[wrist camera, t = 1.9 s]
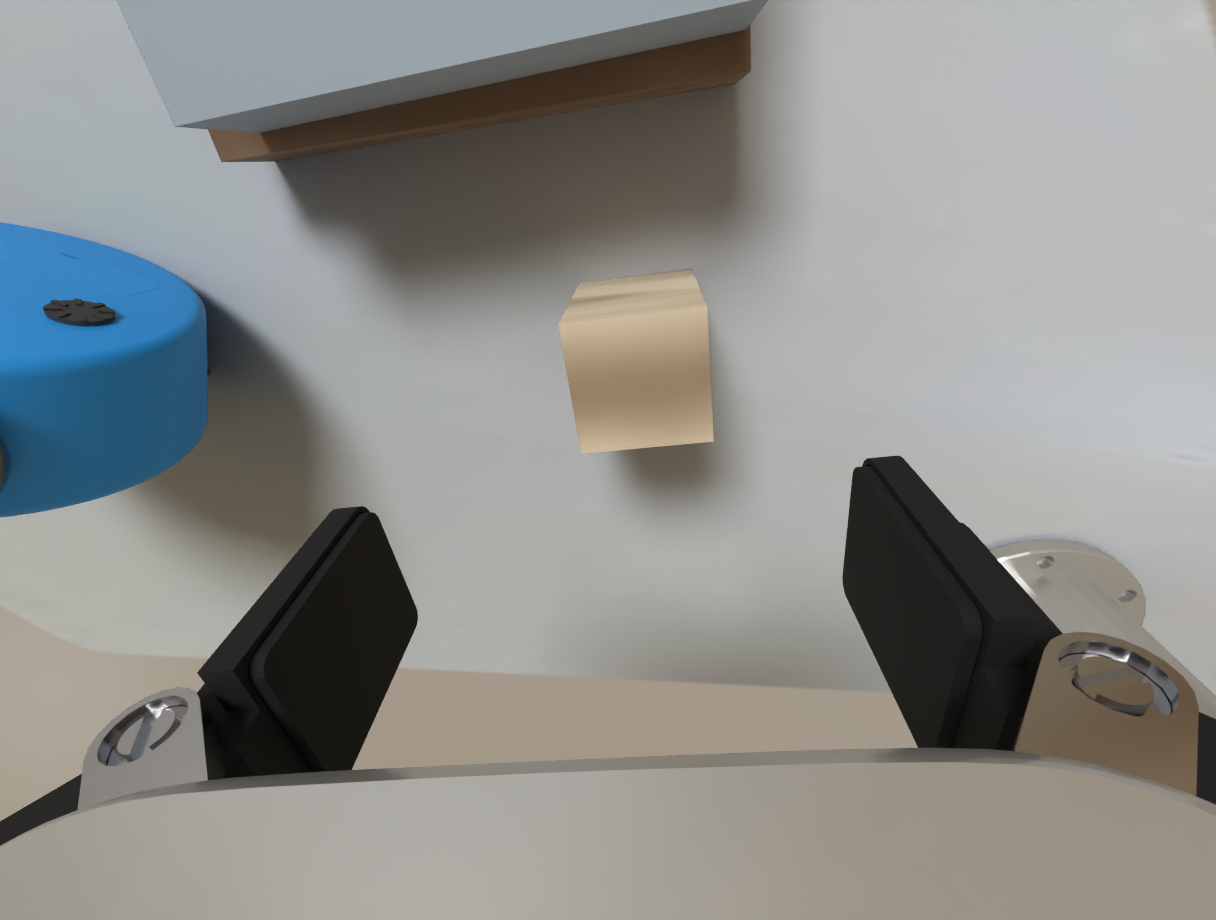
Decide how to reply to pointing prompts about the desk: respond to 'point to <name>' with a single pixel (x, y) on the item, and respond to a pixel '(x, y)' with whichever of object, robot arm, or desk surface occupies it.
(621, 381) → the beech block
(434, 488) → the desk surface
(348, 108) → the slate slab
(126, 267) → the alarm clock
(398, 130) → the walnut slab
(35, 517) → the desk surface
